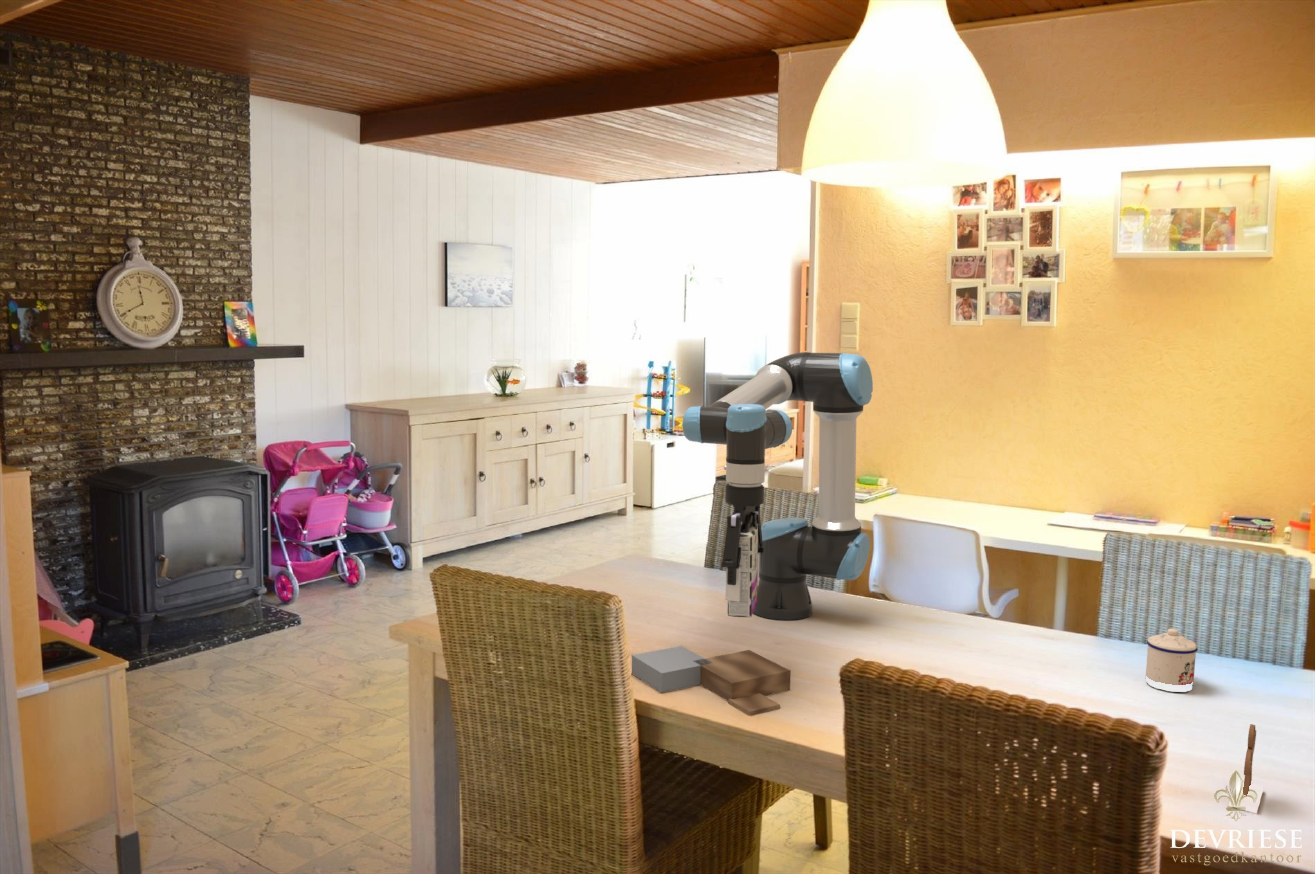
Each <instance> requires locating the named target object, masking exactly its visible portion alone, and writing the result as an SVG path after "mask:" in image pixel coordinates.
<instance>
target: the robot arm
mask: <svg viewBox="0 0 1315 874" xmlns="http://www.w3.org/2000/svg"><path fill="white" fill-rule="evenodd" d="M873 384H874V383H873V375H872V371H871V367H870V365H869V363H868V361H867V359H866V358H865V357H863V356H862V355H860V354H854V353H847V352H809V351H807V352H805V351H802V352H795V353H791V354H789V355H788V354H787V355H785V356H783V357H779V358H778V359H775V360H773V361H770V362H769V363H767V364H765V365H764V366H762V367H761V368H760V369H758V370H757V372H756V374H755V376H754V377H753V378H751V379H749V380H748V381H746V382H745V383H743V384H741V385H740V386H738V387H737V388H736V389H734V390H732V391H731V392H729V393H727V394H726V395H724V396H723V397H721V398H719V399H718V400H716V401H715V402H713V403H712V404H710V405H709V406H702V405H699V406H690V407H689V408H687V409H686V410H685V412H684V414H683V418H682V425H681V426H682V431H683V432H682V433H683V435H684V437H685V438H686V439H687V440H688V441H689V442H695V443H700V444H713V445H726V458H725V461H726V462H725V465H724V466H723V470H724V471H725V481H726V482H727V484H726V485H725V488H724V489H725V493H724V494H725V495H724V496H725V497H724V498H725V499H724V500H725V503H726V504H727V505H730V506H731V505H732V507H733V512H732V514H728V515H727V518H726V519H727V521H726V522H727V523H726V534H725V540H724V546H723V554H722V555H723V556H722V562H720V563H721V564H720V565H721V568H725V601H728V600H729V601H737V602H739V601H740V583H741V568H740V567H739V564H740V559H741V547H739V540H740V533H748V532H749V529H750V528H751V527H752V526H753V527H757V526H758V568H757V603H756V606H755V608H754V611H753V614H754V615H755V616H756V615H757V616H759V617H761V618H766V619H772V620H780V621H781V620H784V621H791V620H792V621H793V620H801V619H804V618H808V617H809V616H811V615H812V614H813V601H812V598H811V595H810V591H809V587H808V584H807V576H808V575H810V576H813V577H814V576H815V577H822V578H829V579H833V580H835V579H836V580H837V581H842V580H843V581H854V580H857V579H858V578H859V577H860V576H861V575H862V574H863V572H864V570H865V567H866V565H867V561H868V559H869V553H870V549H871V546H870V545H871V543H870V536H869V534H867V533H865V532H862V523H861V521H859V520H858V519H857V517H856V476H857V475H856V474H857V473H856V472H857V471H856V470H857V468H856V467H857V463H856V462H857V420H858V417H859V416H860V415H861V414H862V413H863V412H864V406H866V405H868V404H869V403H870V402H871V399H872V393H873V391H874V390H873V389H874V388H873ZM787 401H790V402H791V401H796V402H797V401H799V402H812V410H813V411H812V412H813V413H814V414H815V415H816V416H817V417H818V418H819V425H818V426H819V427H818V428H819V429H818V430H819V433H818V434H819V436H818V437H819V439H818V440H819V441H818V442H819V444H818V516H817V517H816V518H815V519H814V520H813V521H812V522H811V526H809V522H808V520H807V519H806V518H802V517H787V518H777V519H773V520H769V521H766V522H764V523H763V524H762V523H761V505H763V504H764V502H765V495H764V494H765V486H764V485H763V484H764V482H765V481H766V480H765V479H766V478H765V474H766V471H765V469H766V468H765V467H766V464H765V463H766V461H765V460H766V459H765V457H766V450H767V449H773V448H777V447H779V446H781V445H783V444H785V443H786V442H788V440H790V438H791V436H792V433H793V422H792V419H791V418H790V416H789V415H788V414H787V413H786V412H785V411H783V410H780V409H769V408H770V407H772V406H774V405H781V404H784V403H785V402H787ZM757 524H758V525H757ZM730 560H732V561H730Z"/></svg>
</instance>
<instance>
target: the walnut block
mask: <svg viewBox="0 0 1315 874" xmlns="http://www.w3.org/2000/svg"><path fill="white" fill-rule="evenodd" d="M704 658H705V657H704ZM700 660H701V661H698V660H696V661H693V662H695V663H697V664H700V663H701V662H704V664H703V663H701V664H703V665H701V664H700V665H701V671H700V685H699V686H701V687H704V689H706V690H708V691H710V692H712V693H713V694H715V695H717V696H719V697H720V698H722V699H724V700H725V701H727V702H728V699H736V698H740V697H744V696H749V695H753V694H758V693H760V694H762V695H764V696H766V697H767V696H769V695H774V694H779V693H783V692H788V691H791V677H792V676H791V675H792V673H791V671H792V670H790V669H789V668H786V667H784V666H782V665H780V664H778V663H776V662H775V661H772V660H770V659H769V658H767V657H764V656H763V655H760V654H759V653H756V652H755V651H752V650H751V649H746V650H742V651H741V650H740V651H736V652H731V653H726V654H722V655H715V656H711V657H706V658H705V659H703V661H702V659H700ZM706 660H707V661H706ZM708 661H709V662H712V663H709V662H708ZM705 662H706V663H705ZM708 663H709V664H708ZM705 664H706V665H705Z"/></svg>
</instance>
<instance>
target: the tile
mask: <svg viewBox="0 0 1315 874" xmlns="http://www.w3.org/2000/svg"><path fill="white" fill-rule="evenodd" d="M727 703H728V704H729V705H731V706H732V707H734V708H736V709H738V710H739V711H741V712H742V713H745V714H746V715H748V716H749V717H750V716H753V715H758V714H763V713H766V712H769V711H770V712H771V711H774V710H780V709H781V704H780V703H778V702H777V701H776V700H775V701H774V700H773V699H771V698H769V697H767V695H766V696H764V695H762V694H760V693H758V694H753V695H749V696H744V697H740V698H736V699H728V701H727Z"/></svg>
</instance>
